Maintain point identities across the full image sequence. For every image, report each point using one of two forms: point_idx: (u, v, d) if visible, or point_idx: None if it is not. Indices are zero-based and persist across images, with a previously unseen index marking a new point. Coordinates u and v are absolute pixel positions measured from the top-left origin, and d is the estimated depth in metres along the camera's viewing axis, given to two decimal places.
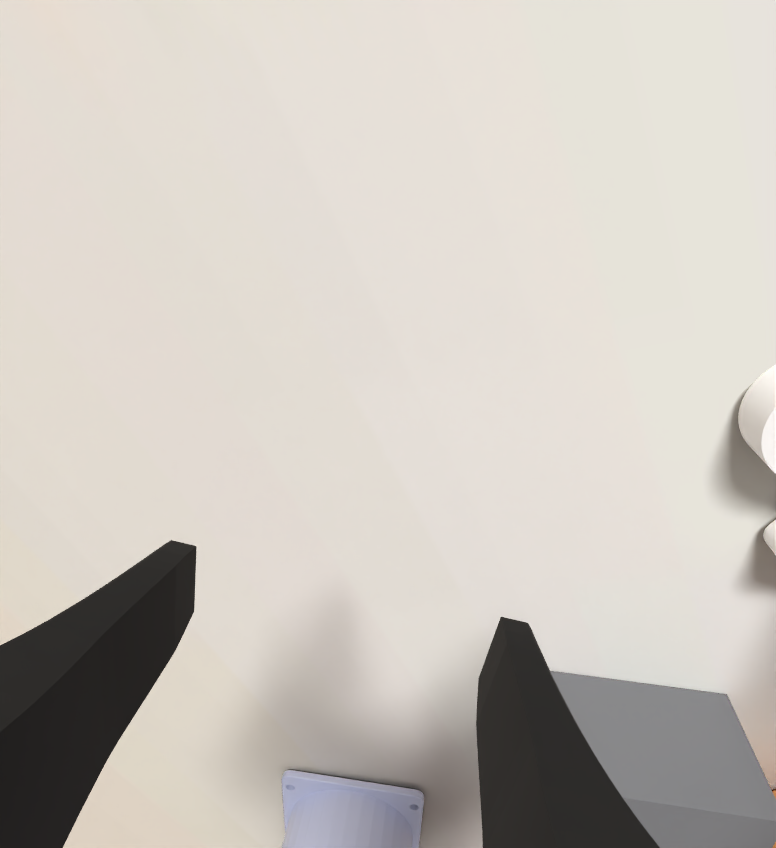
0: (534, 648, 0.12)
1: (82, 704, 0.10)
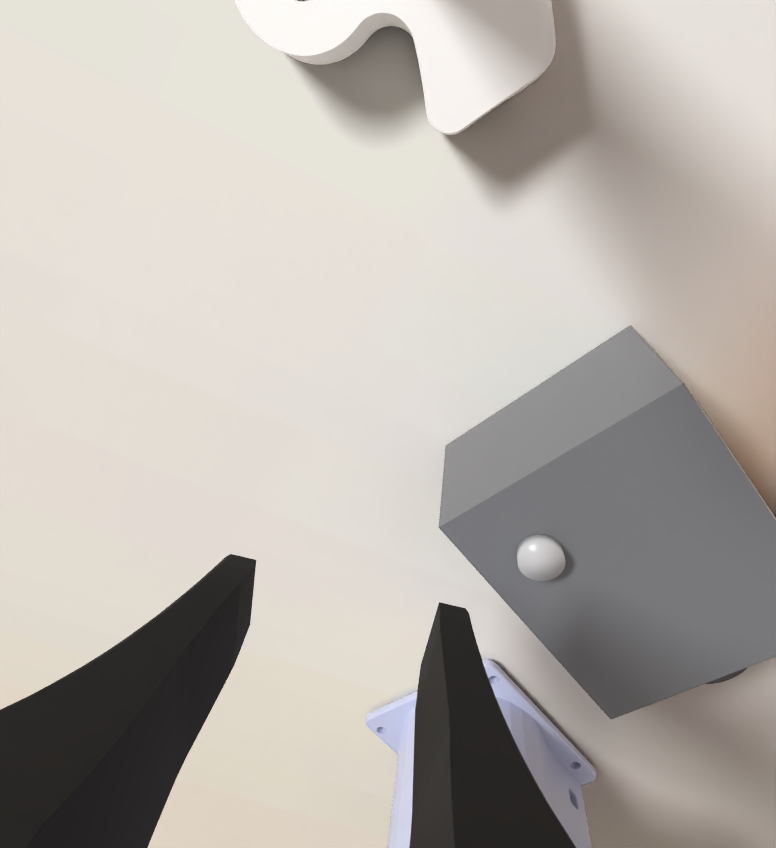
0: (467, 632, 0.12)
1: (162, 723, 0.09)
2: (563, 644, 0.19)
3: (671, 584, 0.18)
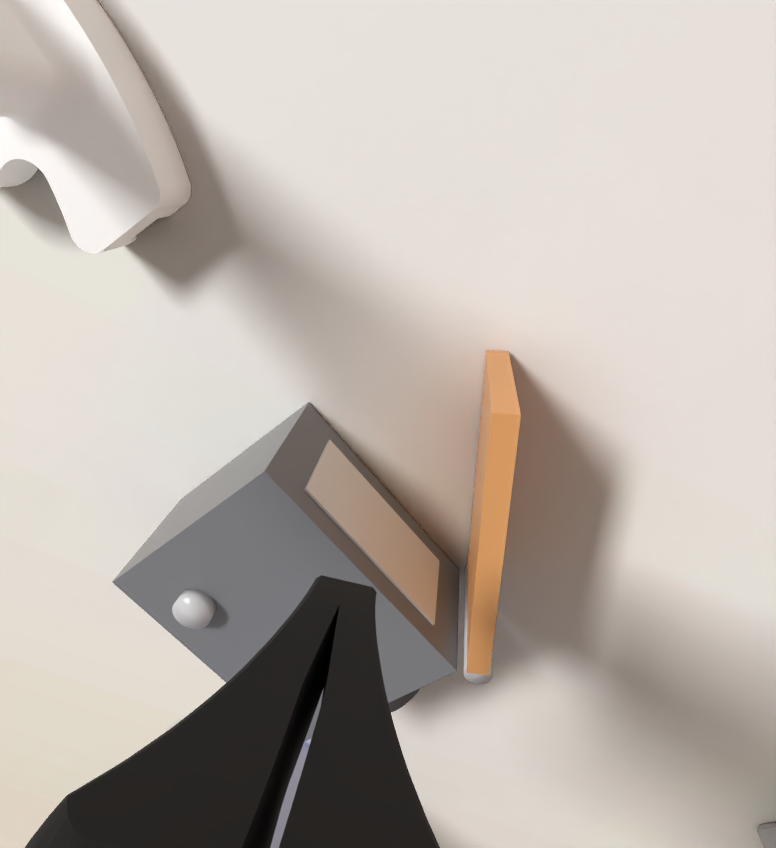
0: (367, 609, 0.12)
1: (286, 754, 0.09)
2: None
3: None
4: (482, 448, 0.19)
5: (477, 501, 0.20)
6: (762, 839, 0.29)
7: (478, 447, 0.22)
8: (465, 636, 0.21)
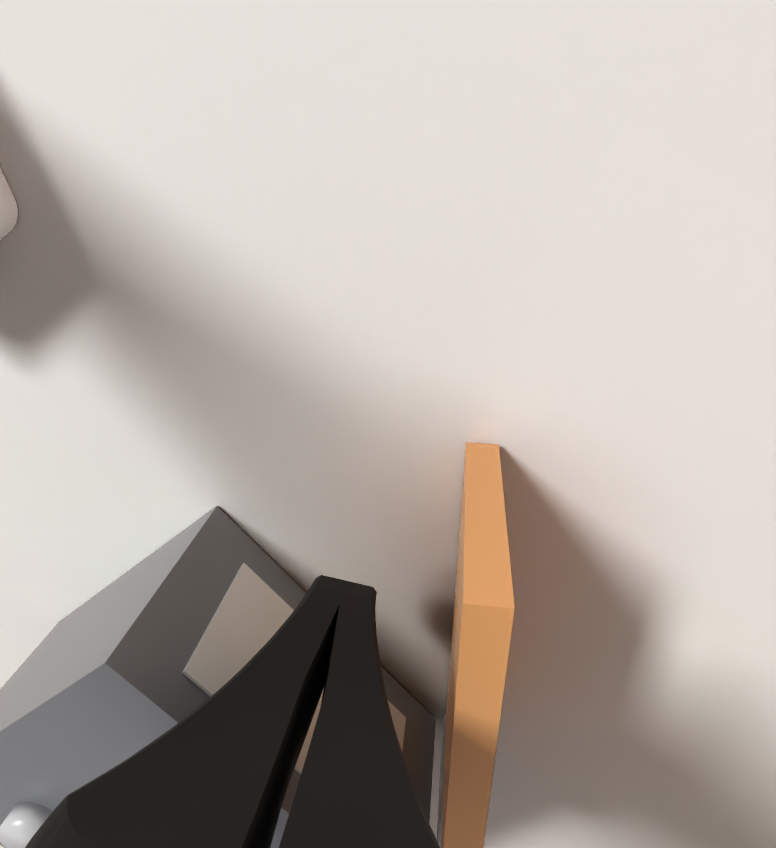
0: (367, 609, 0.12)
1: (285, 753, 0.09)
2: None
3: None
4: (457, 606, 0.12)
5: (452, 674, 0.13)
6: None
7: None
8: None
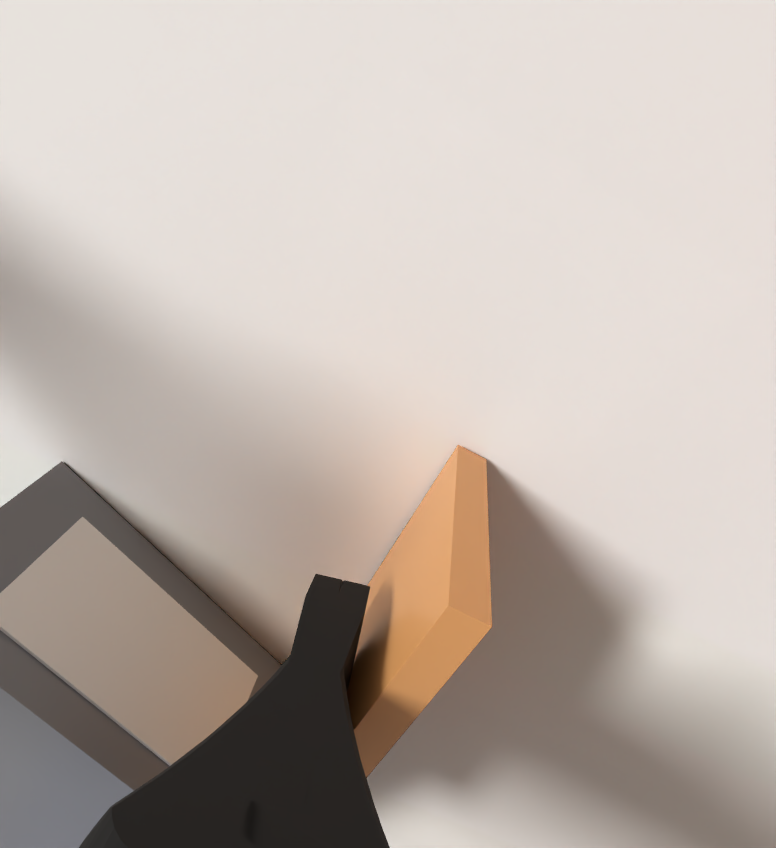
0: (332, 601, 0.12)
1: None
2: None
3: (19, 807, 0.14)
4: (399, 594, 0.13)
5: (358, 651, 0.14)
6: None
7: (388, 559, 0.15)
8: None
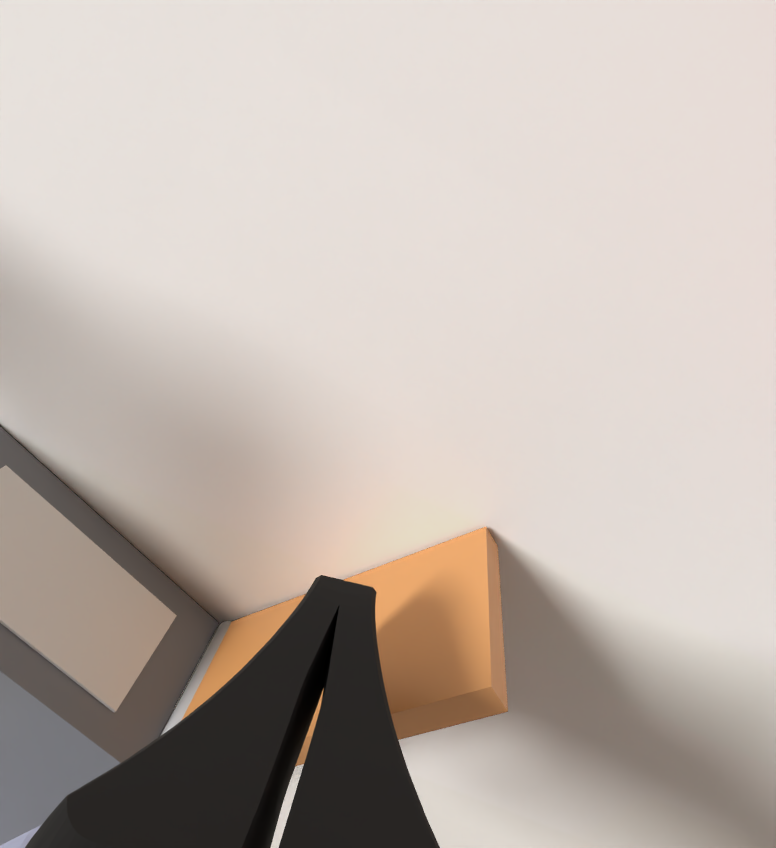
0: (367, 609, 0.12)
1: (285, 754, 0.09)
2: None
3: None
4: (402, 627, 0.15)
5: None
6: None
7: (375, 576, 0.18)
8: None
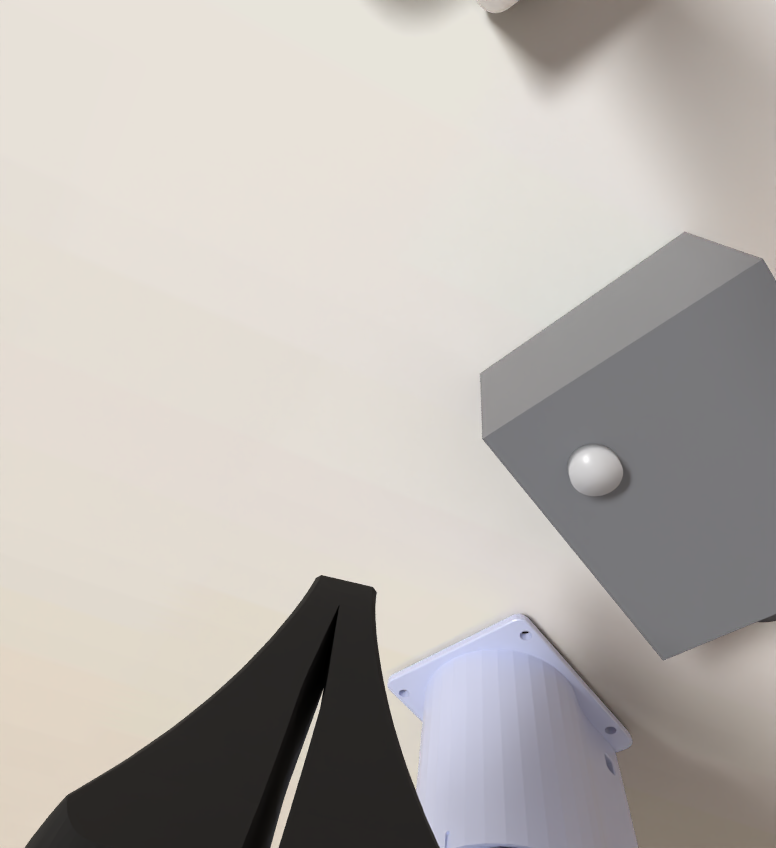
0: (366, 609, 0.12)
1: (285, 754, 0.09)
2: (614, 573, 0.18)
3: (737, 500, 0.16)
4: None
5: None
6: None
7: None
8: None
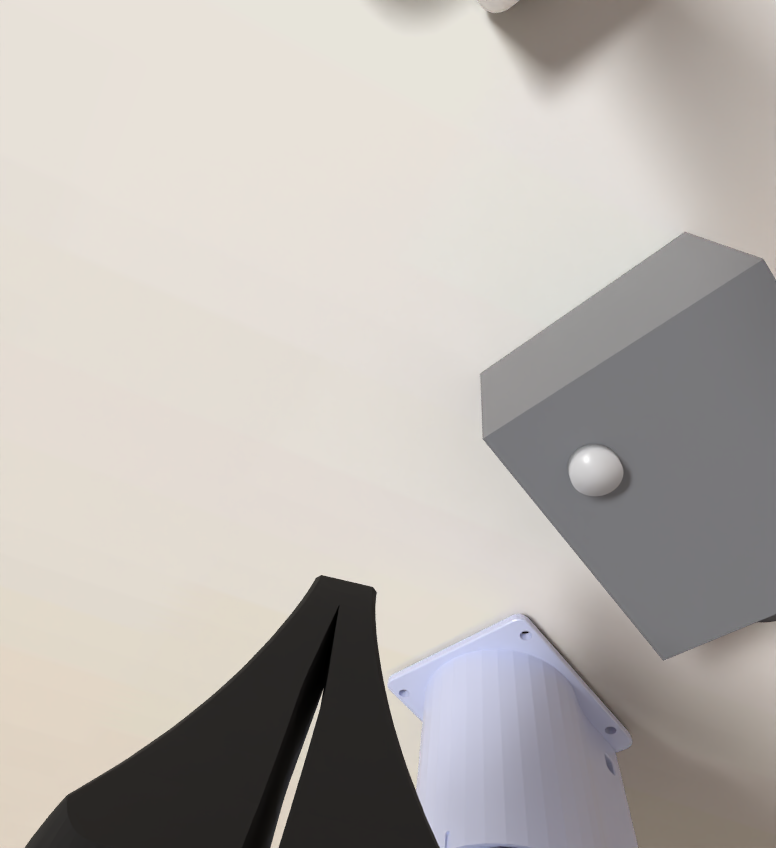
0: (366, 609, 0.12)
1: (285, 754, 0.09)
2: (614, 573, 0.18)
3: (737, 500, 0.16)
4: None
5: None
6: None
7: None
8: None
